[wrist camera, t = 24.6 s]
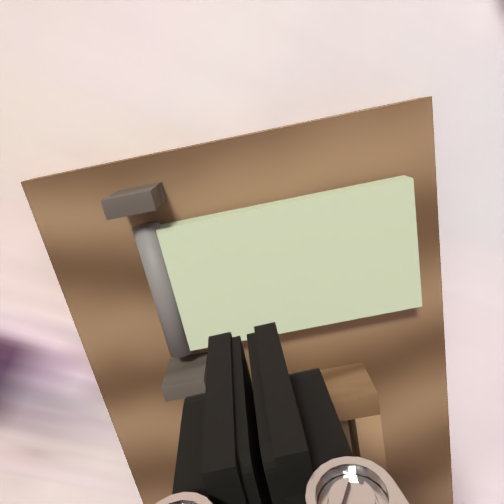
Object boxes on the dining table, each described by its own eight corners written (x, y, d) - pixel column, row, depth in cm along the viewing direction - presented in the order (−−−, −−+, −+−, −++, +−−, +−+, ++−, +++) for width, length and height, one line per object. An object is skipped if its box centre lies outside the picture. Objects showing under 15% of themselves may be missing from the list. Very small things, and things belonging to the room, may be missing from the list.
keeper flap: (128, 231, 17) (413, 173, 16) (135, 224, 18) (402, 170, 18) (168, 360, 19) (423, 311, 18) (172, 346, 20) (412, 300, 20)
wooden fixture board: (34, 178, 19) (-14, 191, 15) (419, 97, 18) (463, 92, 14) (168, 541, 26) (157, 607, 23) (444, 494, 25) (476, 554, 22)
